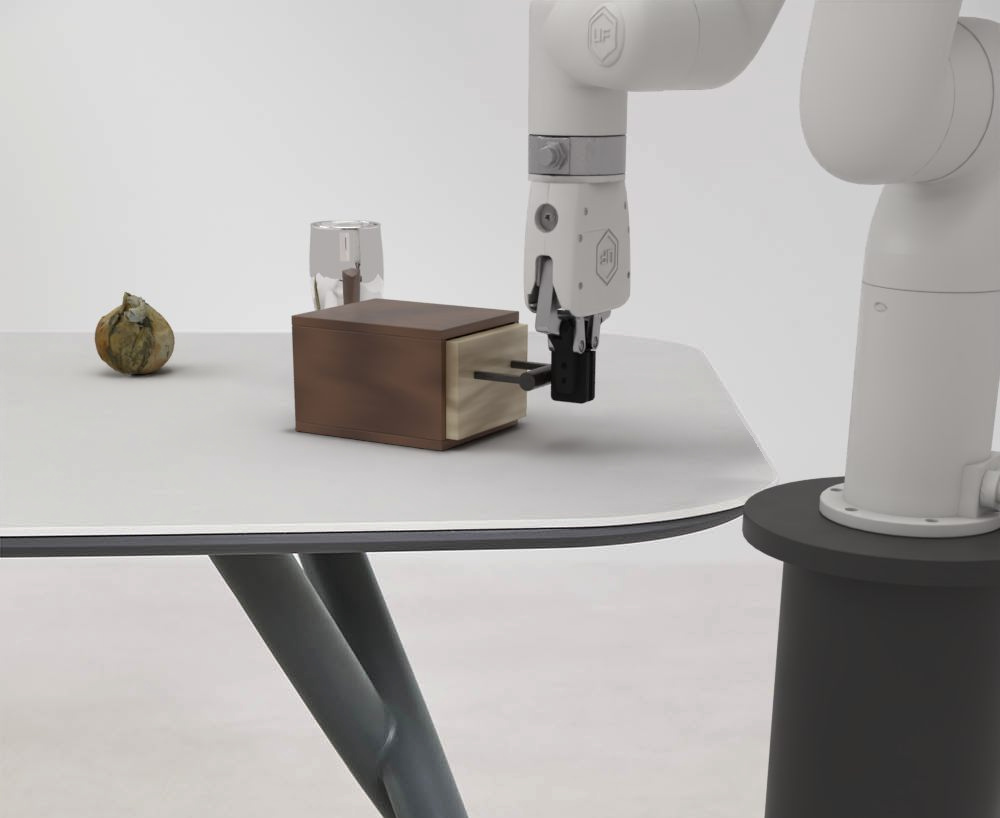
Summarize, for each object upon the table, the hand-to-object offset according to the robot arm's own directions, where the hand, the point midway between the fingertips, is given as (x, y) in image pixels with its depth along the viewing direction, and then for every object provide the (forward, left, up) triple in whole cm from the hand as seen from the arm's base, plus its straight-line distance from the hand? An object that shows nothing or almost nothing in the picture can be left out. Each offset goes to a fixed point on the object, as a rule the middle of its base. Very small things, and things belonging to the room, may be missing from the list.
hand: (572, 400), depth 138 cm
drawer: (+11, 0, -3) cm, 12 cm away
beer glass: (+31, -13, -4) cm, 34 cm away
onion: (+53, -8, -4) cm, 54 cm away
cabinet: (+16, 0, -4) cm, 16 cm away
